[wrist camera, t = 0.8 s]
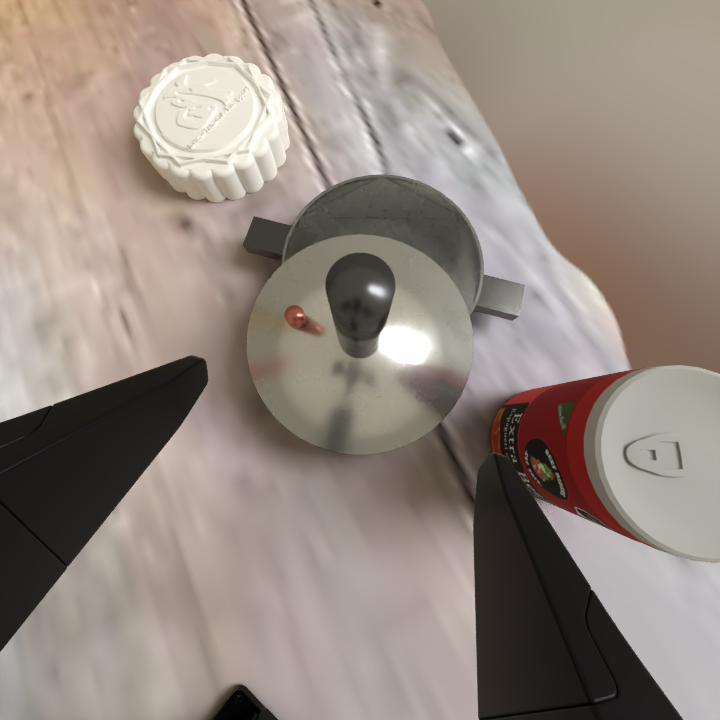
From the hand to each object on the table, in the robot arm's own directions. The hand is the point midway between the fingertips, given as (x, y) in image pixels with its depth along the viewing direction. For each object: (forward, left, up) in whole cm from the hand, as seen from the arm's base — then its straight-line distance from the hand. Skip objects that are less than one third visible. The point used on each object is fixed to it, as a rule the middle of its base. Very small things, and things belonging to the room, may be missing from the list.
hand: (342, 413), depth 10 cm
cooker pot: (+10, +5, -14) cm, 18 cm away
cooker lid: (+4, +3, -11) cm, 12 cm away
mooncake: (+11, +24, -15) cm, 30 cm away
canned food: (+8, -12, -14) cm, 20 cm away
